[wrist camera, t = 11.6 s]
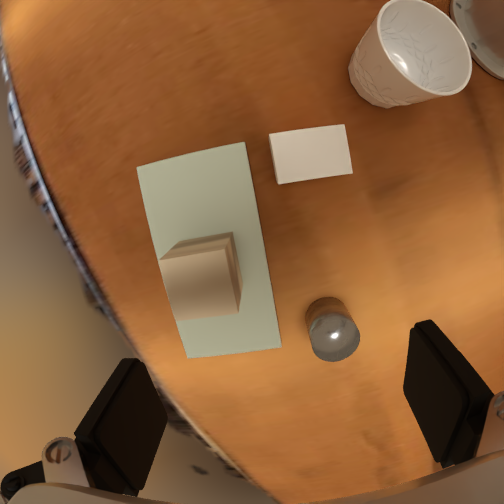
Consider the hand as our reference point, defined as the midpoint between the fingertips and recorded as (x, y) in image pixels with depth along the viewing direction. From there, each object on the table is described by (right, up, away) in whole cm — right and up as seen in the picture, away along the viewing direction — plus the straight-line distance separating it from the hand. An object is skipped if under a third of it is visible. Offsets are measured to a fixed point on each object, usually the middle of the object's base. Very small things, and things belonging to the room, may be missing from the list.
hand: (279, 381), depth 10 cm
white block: (+4, +13, +17) cm, 22 cm away
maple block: (-5, +3, +18) cm, 19 cm away
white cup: (+11, +21, +14) cm, 28 cm away
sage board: (-5, +4, +20) cm, 20 cm away
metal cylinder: (+7, -2, +21) cm, 22 cm away
